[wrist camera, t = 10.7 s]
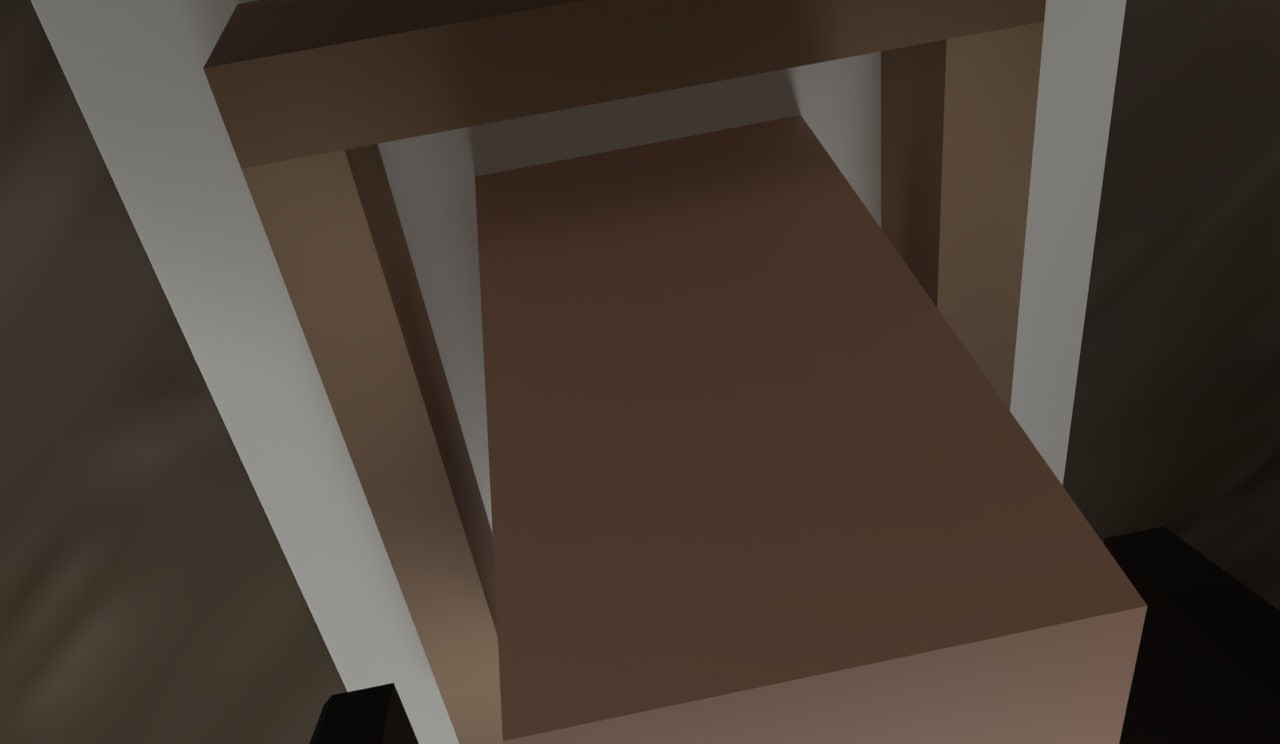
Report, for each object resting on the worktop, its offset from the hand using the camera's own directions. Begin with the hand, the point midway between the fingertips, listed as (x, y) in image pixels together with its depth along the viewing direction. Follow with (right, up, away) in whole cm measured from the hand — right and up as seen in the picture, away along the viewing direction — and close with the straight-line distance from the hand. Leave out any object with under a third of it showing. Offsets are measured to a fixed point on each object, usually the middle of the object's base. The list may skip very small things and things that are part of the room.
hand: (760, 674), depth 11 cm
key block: (-1, +3, +4) cm, 5 cm away
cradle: (-1, +3, +5) cm, 6 cm away
